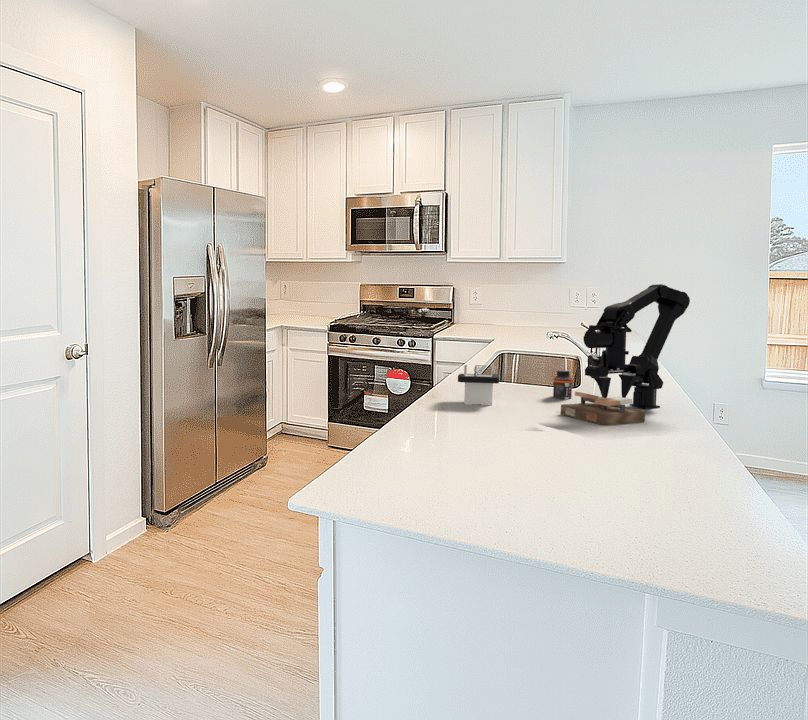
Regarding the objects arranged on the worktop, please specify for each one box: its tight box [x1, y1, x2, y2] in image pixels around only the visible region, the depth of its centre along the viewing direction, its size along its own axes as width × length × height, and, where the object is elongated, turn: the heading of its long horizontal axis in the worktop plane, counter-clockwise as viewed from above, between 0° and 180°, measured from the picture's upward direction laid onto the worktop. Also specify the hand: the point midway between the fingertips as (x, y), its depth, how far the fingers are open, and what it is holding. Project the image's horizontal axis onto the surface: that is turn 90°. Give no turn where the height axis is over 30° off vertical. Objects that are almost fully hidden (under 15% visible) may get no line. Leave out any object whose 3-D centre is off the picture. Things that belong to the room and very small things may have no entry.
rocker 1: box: [574, 391, 604, 403], centre depth 175 cm, size 9×6×2 cm, turn 114°
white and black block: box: [457, 364, 500, 406], centre depth 189 cm, size 28×26×13 cm
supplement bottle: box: [552, 369, 573, 400], centre depth 196 cm, size 6×6×11 cm
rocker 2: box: [595, 396, 633, 408], centre depth 167 cm, size 9×6×2 cm, turn 114°
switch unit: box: [560, 397, 646, 426], centre depth 171 cm, size 15×18×5 cm
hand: (614, 398), depth 178 cm, fingers open, 7 cm apart
